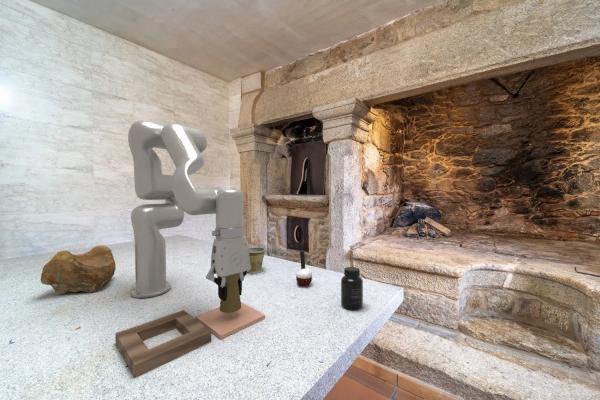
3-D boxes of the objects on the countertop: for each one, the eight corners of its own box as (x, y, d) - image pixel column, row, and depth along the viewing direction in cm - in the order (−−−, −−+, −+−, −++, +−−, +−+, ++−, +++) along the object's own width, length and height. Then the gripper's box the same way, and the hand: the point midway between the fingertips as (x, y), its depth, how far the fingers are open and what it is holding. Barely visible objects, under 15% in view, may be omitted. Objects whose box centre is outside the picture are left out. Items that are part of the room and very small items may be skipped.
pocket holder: (115, 343, 60) (115, 333, 60) (183, 318, 71) (183, 309, 71) (134, 377, 49) (134, 365, 49) (211, 341, 61) (211, 331, 61)
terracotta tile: (195, 319, 71) (195, 316, 71) (237, 303, 81) (237, 300, 81) (221, 339, 61) (220, 335, 61) (265, 318, 72) (265, 315, 72)
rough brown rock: (74, 306, 80) (78, 260, 80) (31, 298, 82) (34, 253, 82) (132, 282, 103) (135, 246, 103) (97, 276, 105) (100, 241, 105)
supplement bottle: (363, 303, 82) (364, 267, 82) (361, 312, 76) (362, 273, 75) (342, 299, 84) (343, 264, 84) (339, 308, 78) (339, 270, 77)
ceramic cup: (263, 275, 108) (263, 252, 107) (240, 275, 108) (239, 252, 108) (267, 266, 121) (267, 245, 120) (246, 266, 121) (246, 245, 121)
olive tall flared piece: (235, 313, 68) (235, 273, 67) (215, 311, 69) (214, 272, 68) (244, 303, 74) (244, 267, 73) (226, 302, 75) (225, 265, 74)
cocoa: (309, 290, 93) (311, 259, 92) (293, 288, 94) (294, 257, 93) (313, 280, 102) (314, 252, 101) (298, 278, 103) (299, 250, 102)
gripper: (208, 238, 62) (209, 311, 62) (261, 231, 74) (261, 291, 75) (194, 235, 67) (195, 302, 67) (246, 228, 79) (247, 285, 80)
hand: (230, 296), depth 71 cm, fingers closed on olive tall flared piece, 4 cm apart
